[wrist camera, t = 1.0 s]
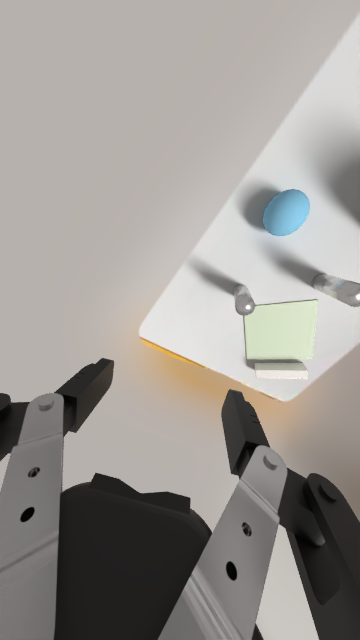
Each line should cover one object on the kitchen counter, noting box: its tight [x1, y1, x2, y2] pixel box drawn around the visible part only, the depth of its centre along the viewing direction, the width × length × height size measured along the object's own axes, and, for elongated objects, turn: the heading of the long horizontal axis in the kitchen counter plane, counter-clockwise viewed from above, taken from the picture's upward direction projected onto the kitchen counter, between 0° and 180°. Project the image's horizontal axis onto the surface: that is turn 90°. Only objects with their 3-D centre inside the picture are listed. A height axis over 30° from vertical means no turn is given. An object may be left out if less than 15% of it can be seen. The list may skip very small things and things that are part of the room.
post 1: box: [234, 285, 255, 316], centre depth 28 cm, size 3×3×9 cm
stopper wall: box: [254, 363, 308, 379], centre depth 35 cm, size 2×9×2 cm, turn 100°
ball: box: [263, 189, 310, 236], centre depth 24 cm, size 6×6×6 cm
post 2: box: [312, 274, 360, 307], centre depth 24 cm, size 3×3×9 cm
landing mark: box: [244, 300, 318, 359], centre depth 33 cm, size 12×12×1 cm
